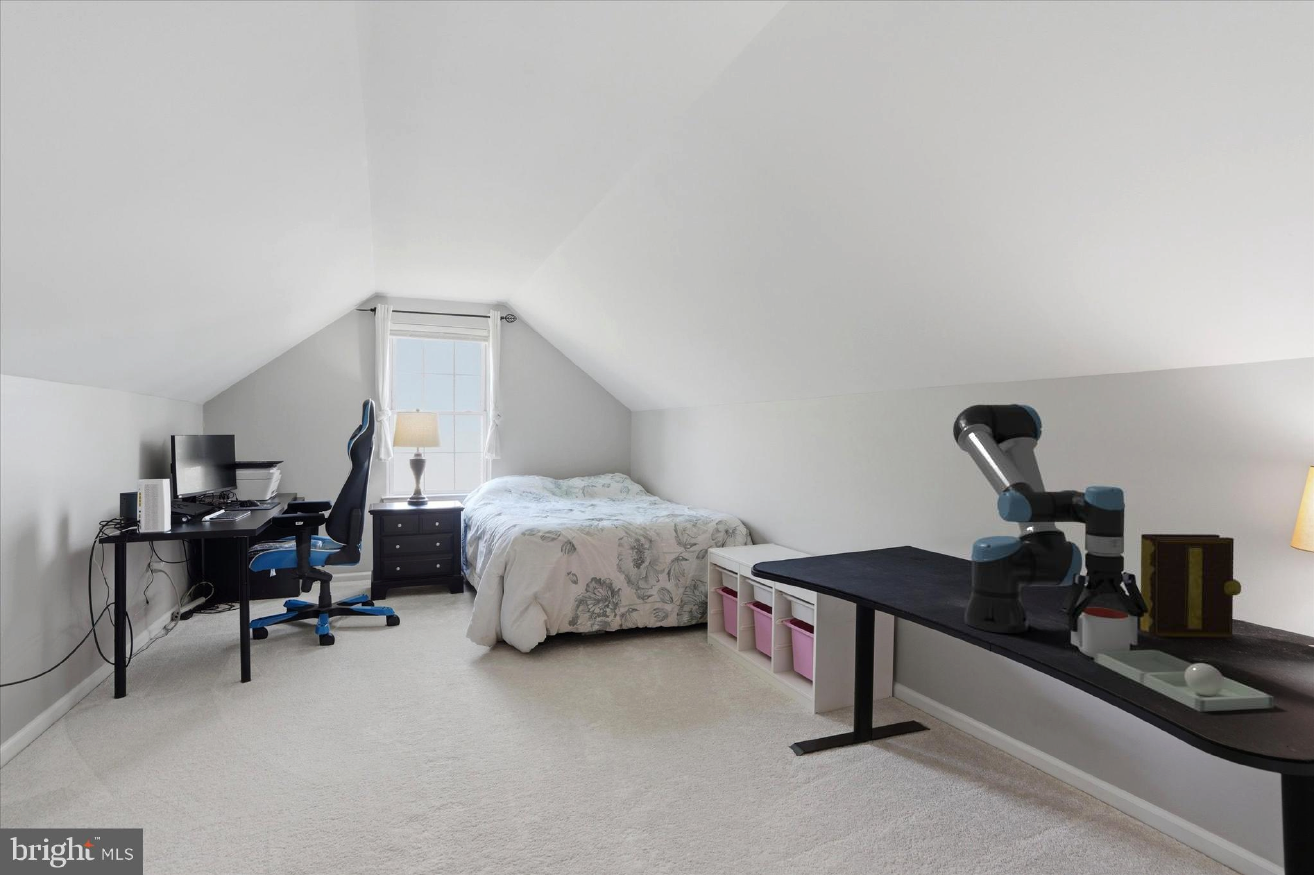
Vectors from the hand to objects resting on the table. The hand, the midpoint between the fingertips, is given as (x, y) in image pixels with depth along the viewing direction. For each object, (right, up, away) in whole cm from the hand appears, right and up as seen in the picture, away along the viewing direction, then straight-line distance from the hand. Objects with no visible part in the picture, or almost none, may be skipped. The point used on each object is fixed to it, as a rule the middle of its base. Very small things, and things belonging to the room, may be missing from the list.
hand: (1103, 644), depth 156 cm
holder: (+2, -3, -19) cm, 20 cm away
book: (+33, -2, +16) cm, 36 cm away
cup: (0, -3, 0) cm, 3 cm away
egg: (+2, -2, -25) cm, 26 cm away
